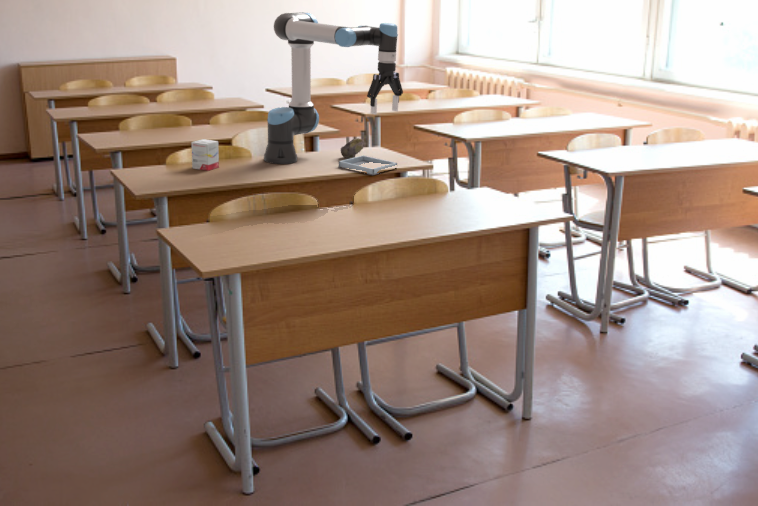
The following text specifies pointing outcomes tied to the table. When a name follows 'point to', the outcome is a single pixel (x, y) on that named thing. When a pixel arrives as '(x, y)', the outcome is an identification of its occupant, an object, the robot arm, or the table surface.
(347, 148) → the rock
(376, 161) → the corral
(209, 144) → the ink box
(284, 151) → the robot arm
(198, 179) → the table surface
